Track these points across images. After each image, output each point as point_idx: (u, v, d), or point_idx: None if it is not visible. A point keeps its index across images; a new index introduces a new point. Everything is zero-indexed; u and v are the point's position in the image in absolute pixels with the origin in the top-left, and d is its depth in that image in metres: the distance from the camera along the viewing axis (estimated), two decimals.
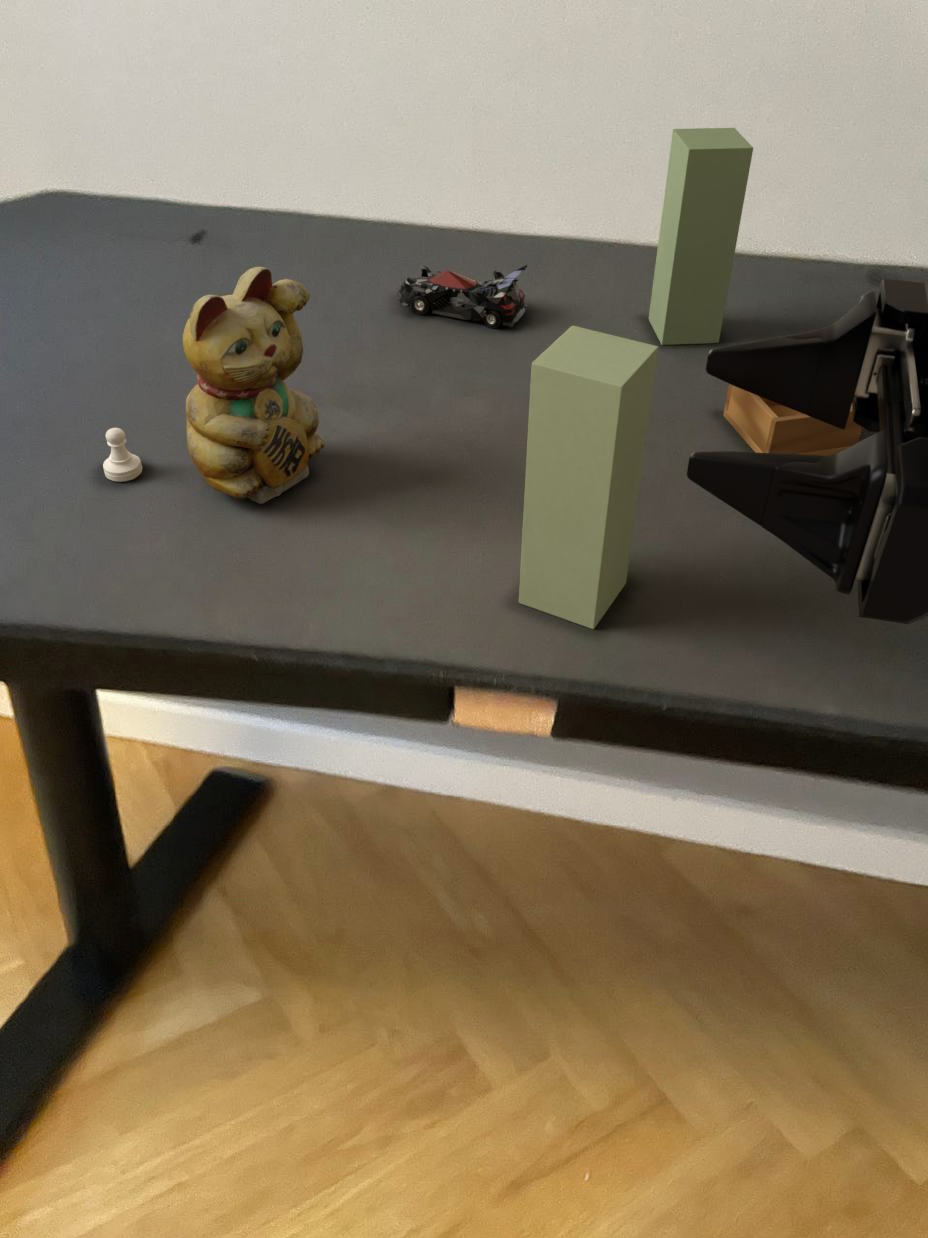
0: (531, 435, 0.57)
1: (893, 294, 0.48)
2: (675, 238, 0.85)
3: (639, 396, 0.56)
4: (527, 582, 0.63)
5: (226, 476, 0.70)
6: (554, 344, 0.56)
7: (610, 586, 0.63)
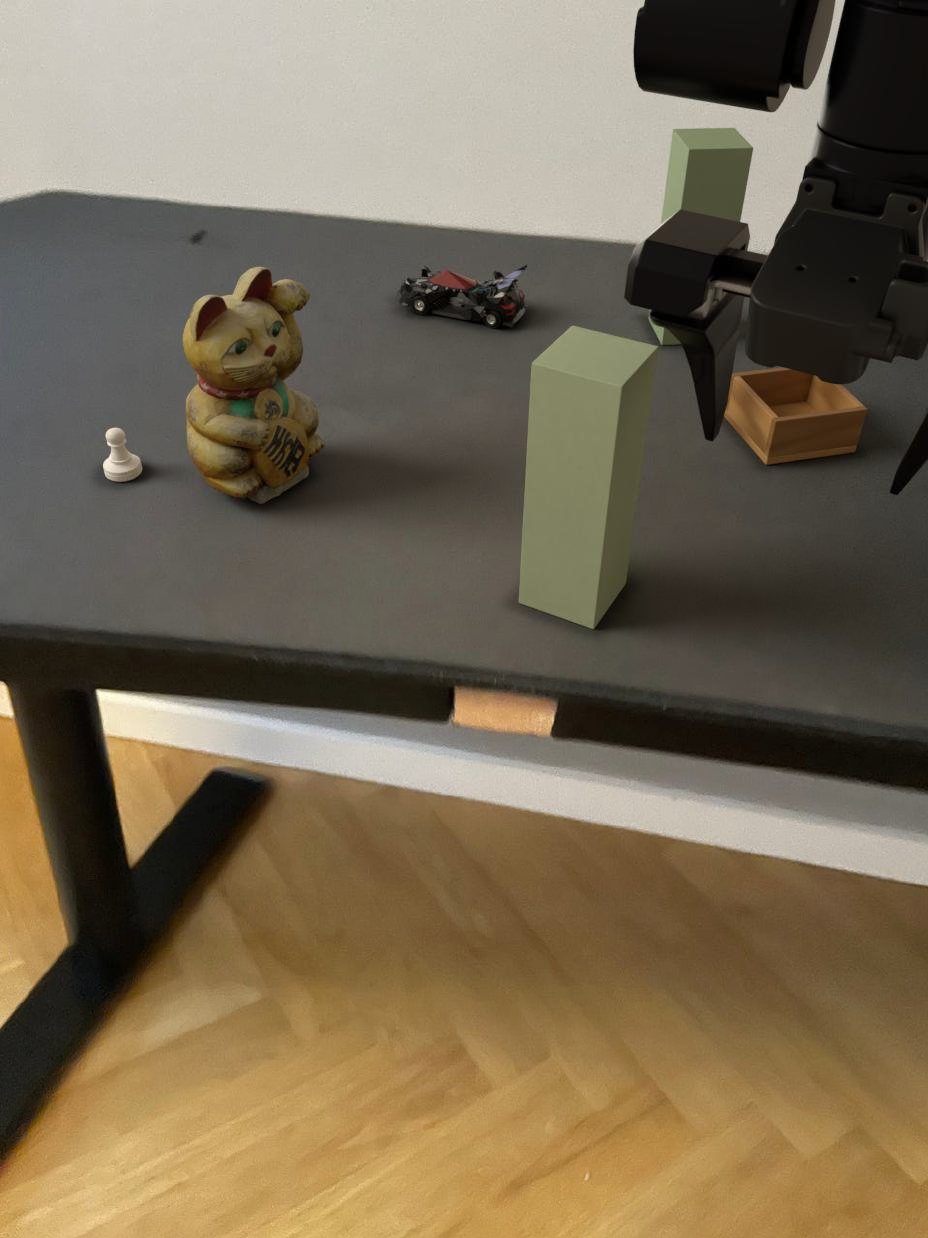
0: (531, 435, 0.57)
1: (666, 305, 0.48)
2: None
3: (639, 396, 0.56)
4: (527, 582, 0.63)
5: (226, 476, 0.70)
6: (554, 344, 0.56)
7: (610, 586, 0.63)
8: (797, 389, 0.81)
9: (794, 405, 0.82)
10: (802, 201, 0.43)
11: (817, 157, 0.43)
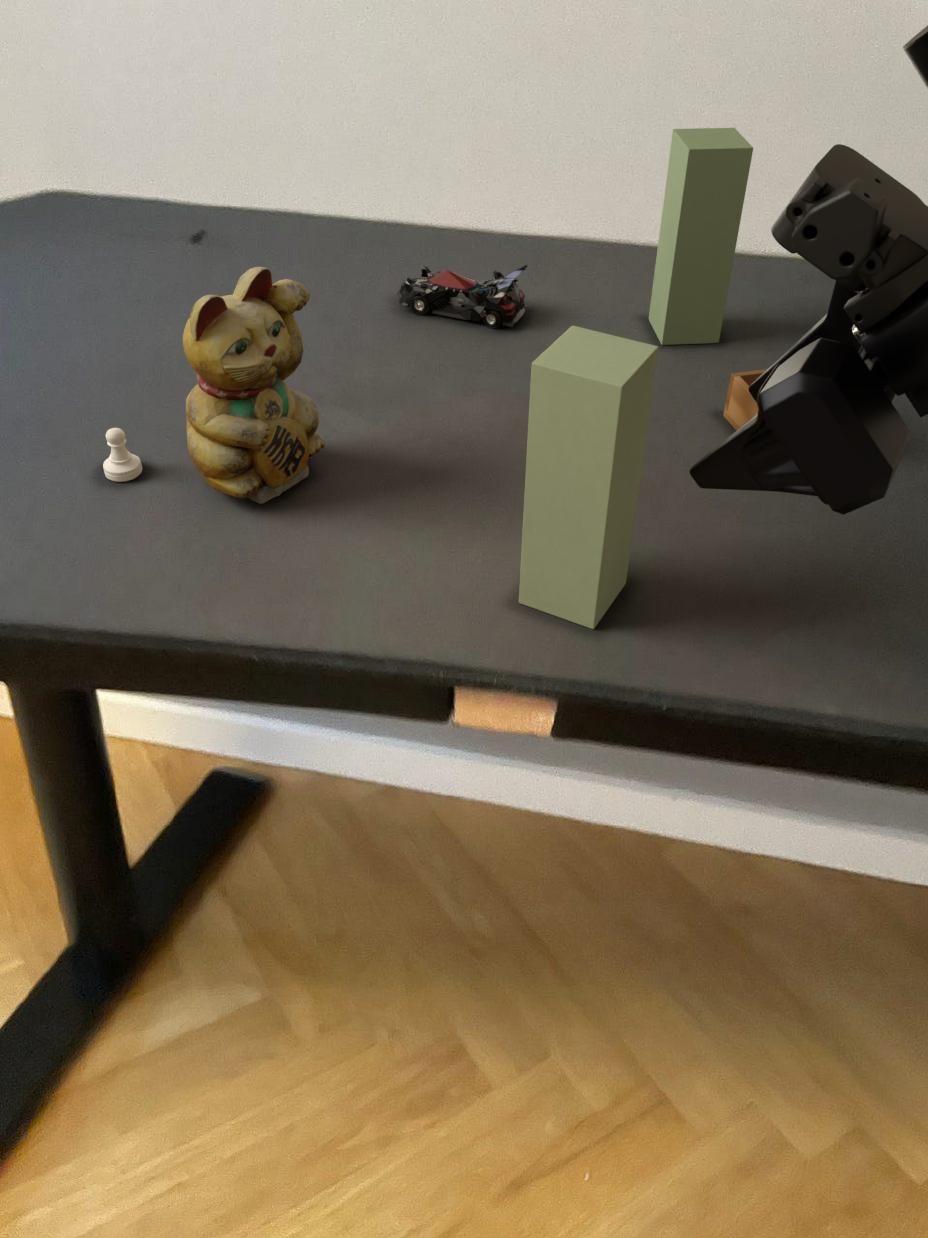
0: (531, 435, 0.57)
1: None
2: (675, 238, 0.85)
3: (639, 396, 0.56)
4: (527, 582, 0.63)
5: (226, 476, 0.70)
6: (554, 344, 0.56)
7: (610, 586, 0.63)
8: None
9: None
10: None
11: None
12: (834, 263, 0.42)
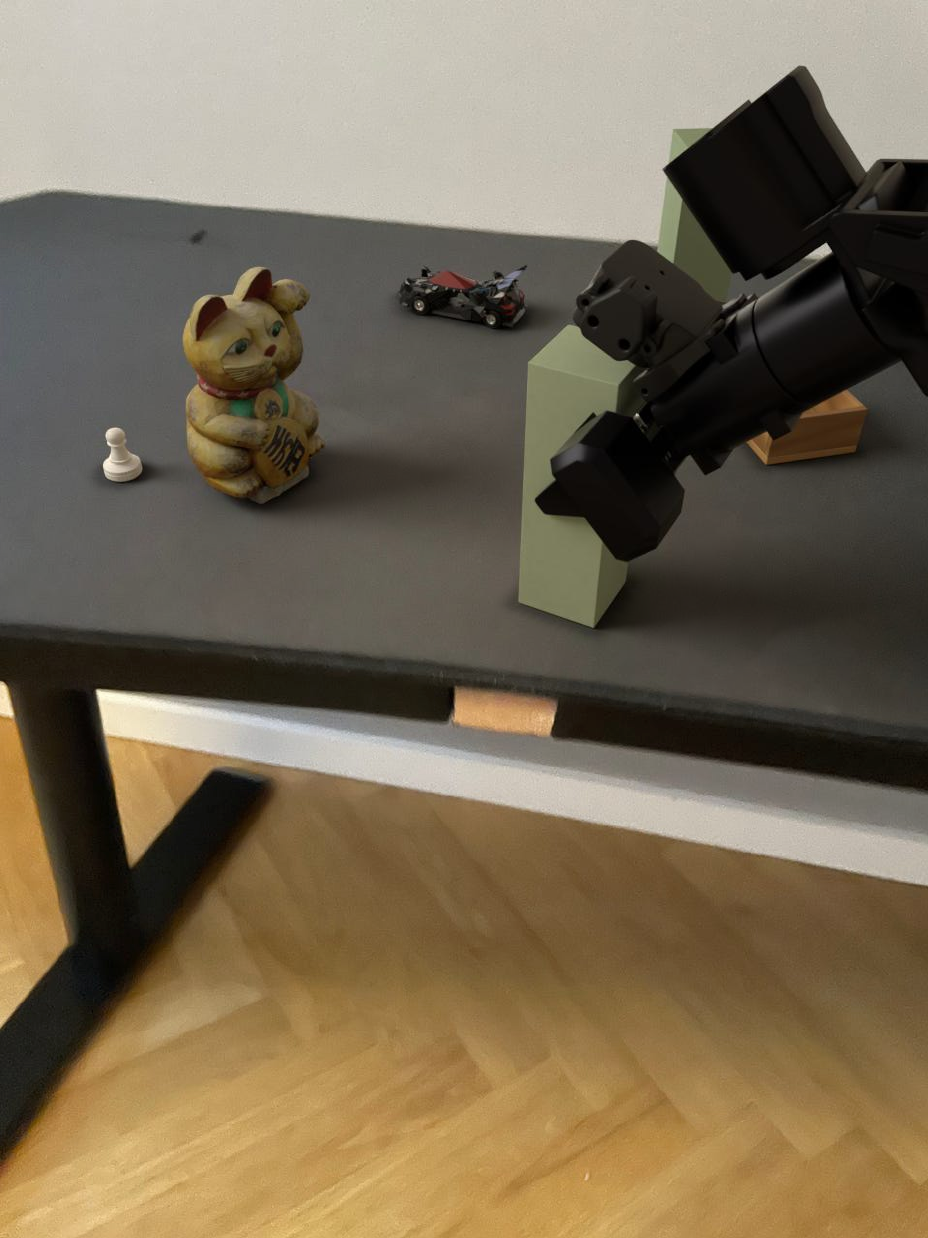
0: (529, 435, 0.57)
1: None
2: (675, 238, 0.85)
3: (636, 394, 0.56)
4: (527, 581, 0.63)
5: (226, 476, 0.70)
6: (550, 343, 0.56)
7: (610, 584, 0.63)
8: None
9: None
10: (728, 302, 0.52)
11: None
12: (614, 347, 0.49)
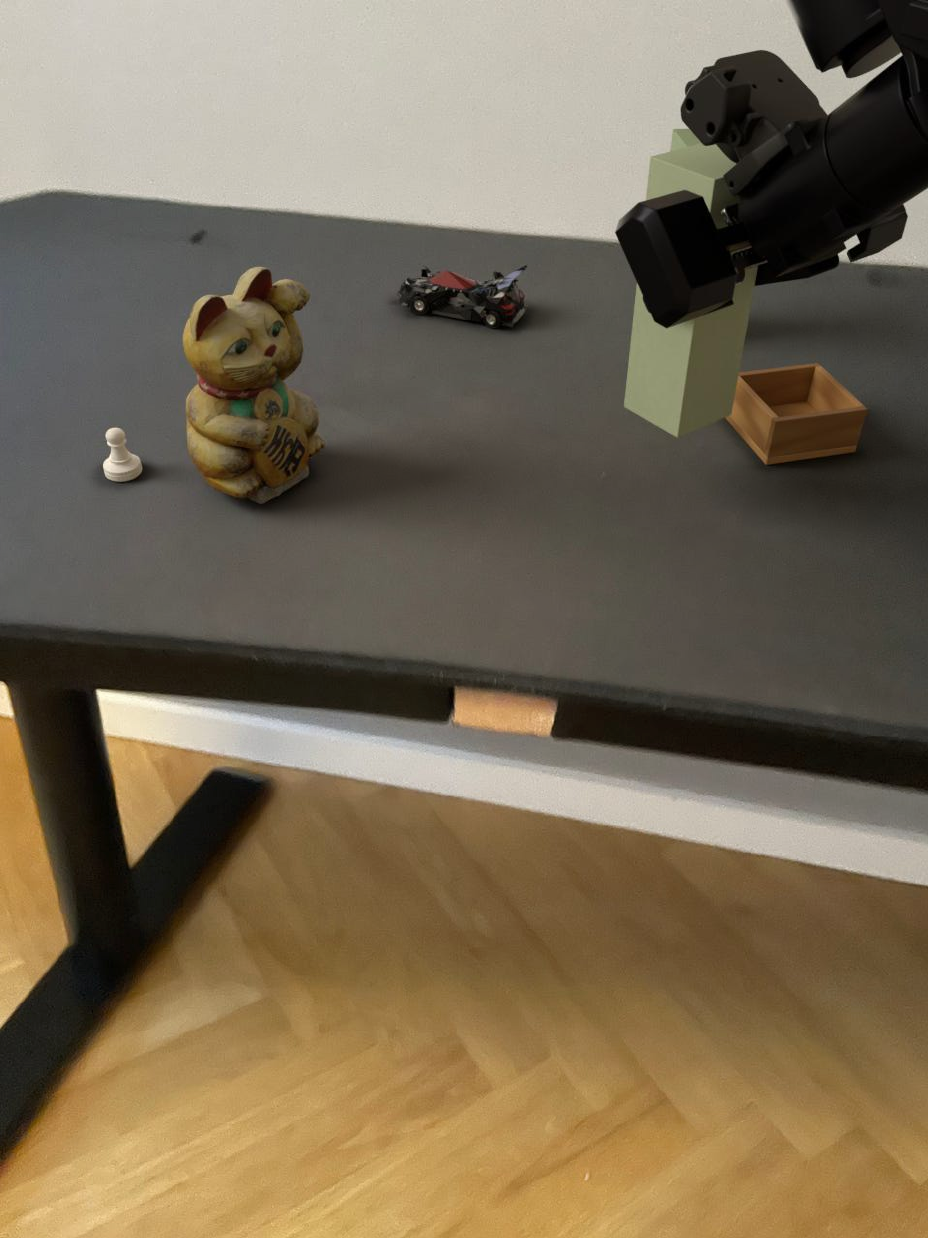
0: None
1: None
2: None
3: None
4: (631, 385, 0.69)
5: (226, 476, 0.70)
6: (681, 148, 0.61)
7: (704, 402, 0.67)
8: (797, 389, 0.81)
9: (794, 405, 0.82)
10: None
11: None
12: (703, 131, 0.55)
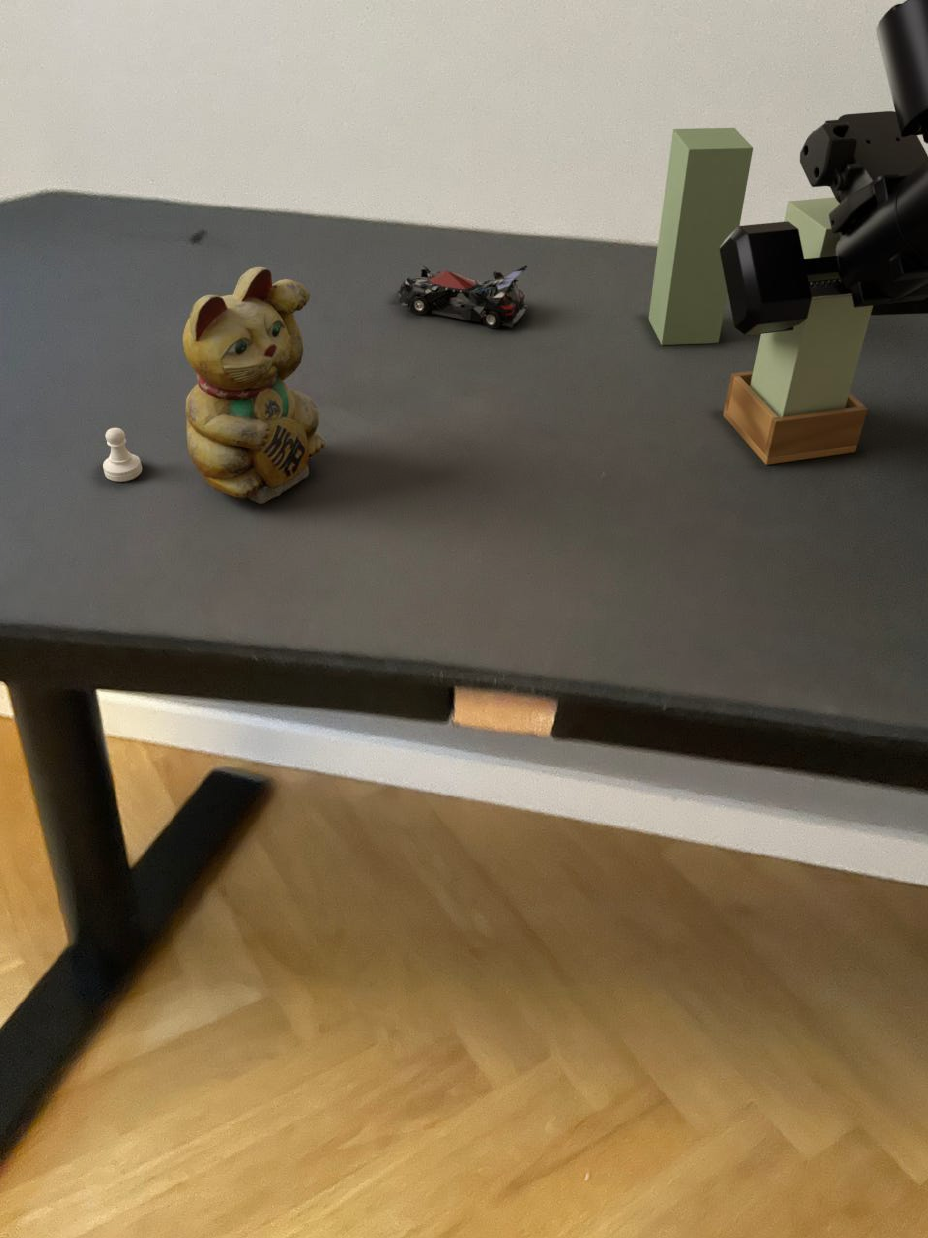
0: None
1: None
2: (675, 238, 0.85)
3: None
4: None
5: (226, 476, 0.70)
6: None
7: None
8: None
9: None
10: None
11: None
12: (812, 174, 0.64)
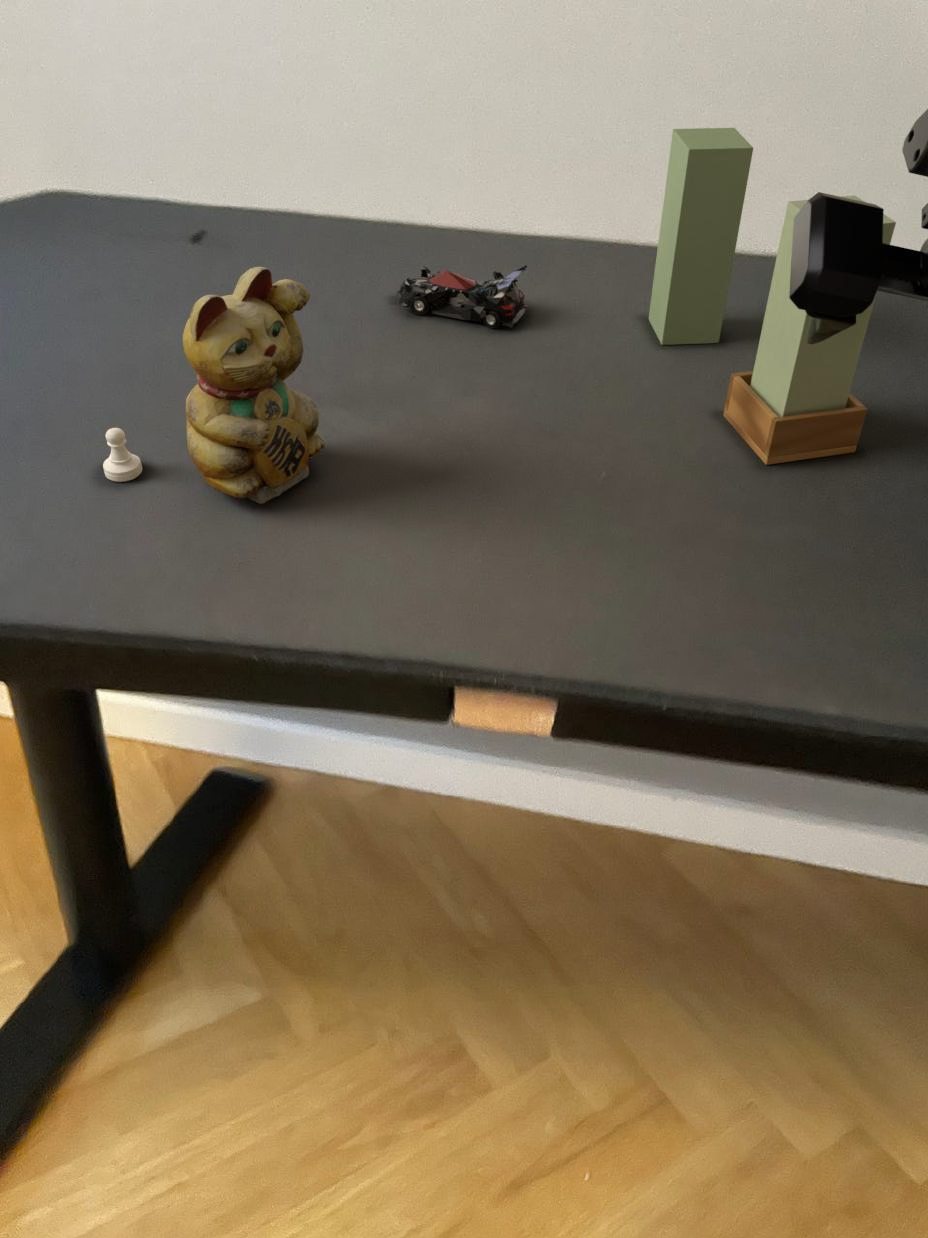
0: (776, 264, 0.73)
1: None
2: (675, 238, 0.85)
3: None
4: None
5: (226, 476, 0.70)
6: None
7: None
8: None
9: None
10: None
11: None
12: (911, 158, 0.58)
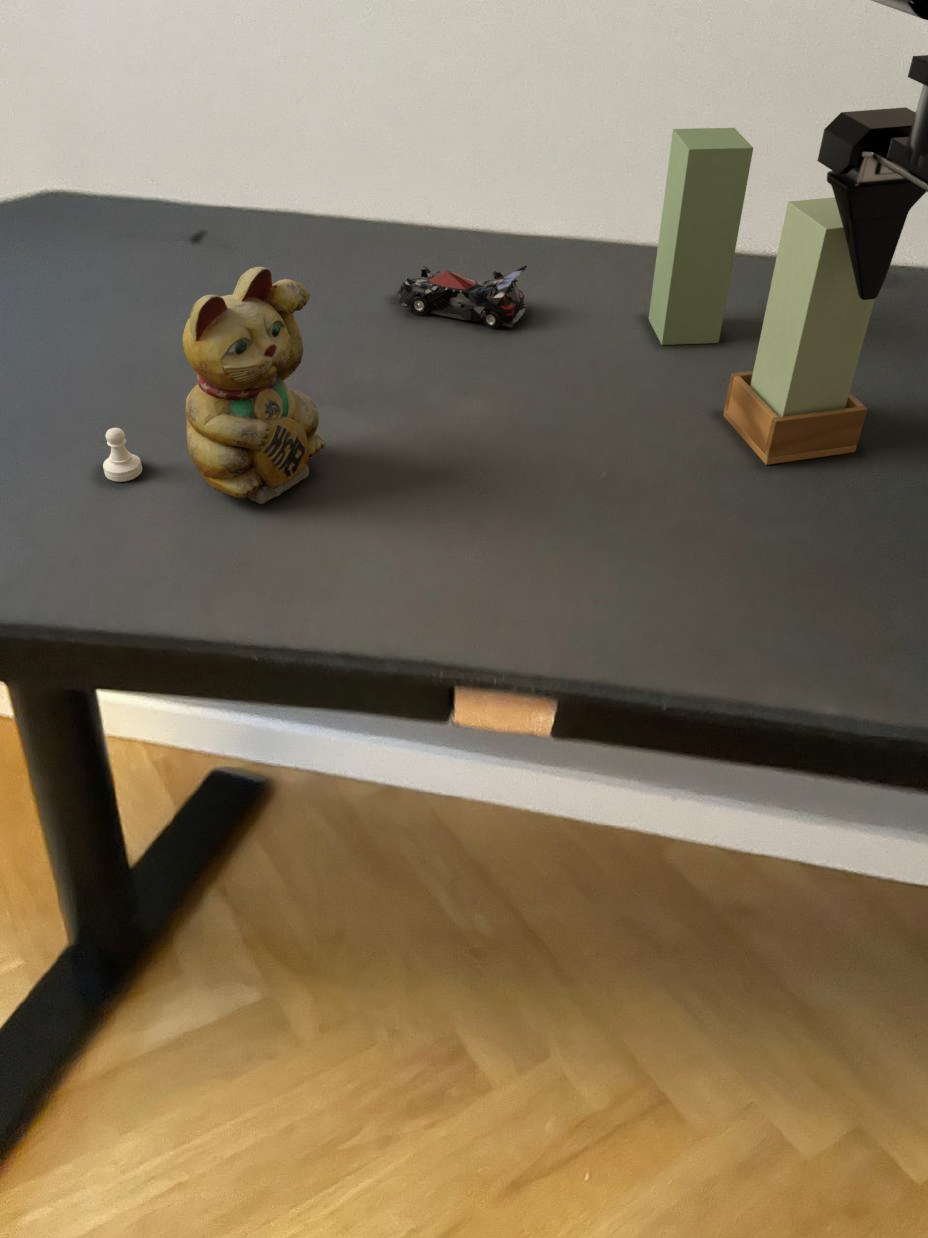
0: (776, 264, 0.73)
1: None
2: (675, 238, 0.85)
3: None
4: None
5: (226, 476, 0.70)
6: None
7: None
8: None
9: None
10: None
11: None
12: None
